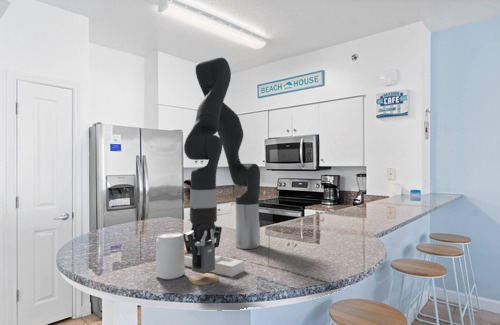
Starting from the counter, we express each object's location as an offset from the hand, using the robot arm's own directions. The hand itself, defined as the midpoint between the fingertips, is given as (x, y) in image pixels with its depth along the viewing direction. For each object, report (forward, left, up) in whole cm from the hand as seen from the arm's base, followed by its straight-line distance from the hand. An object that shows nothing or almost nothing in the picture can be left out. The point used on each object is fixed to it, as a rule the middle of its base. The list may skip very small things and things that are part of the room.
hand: (203, 265), depth 90 cm
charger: (0, 0, -1) cm, 1 cm away
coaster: (0, 0, -4) cm, 4 cm away
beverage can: (+2, -11, -4) cm, 12 cm away
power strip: (-10, -8, -4) cm, 13 cm away
